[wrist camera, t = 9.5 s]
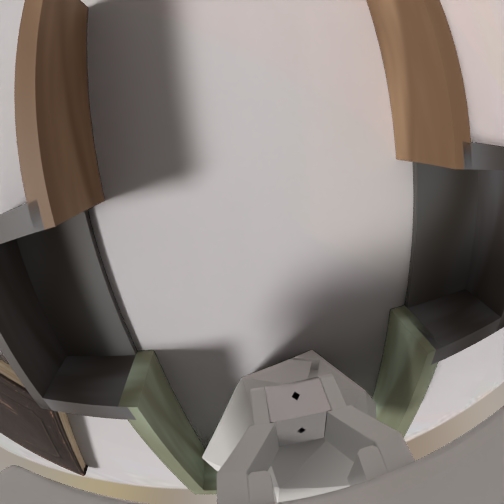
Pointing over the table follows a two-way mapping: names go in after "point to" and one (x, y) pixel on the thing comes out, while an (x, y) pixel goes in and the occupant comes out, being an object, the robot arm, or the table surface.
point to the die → (295, 455)
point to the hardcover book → (36, 424)
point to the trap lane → (96, 282)
